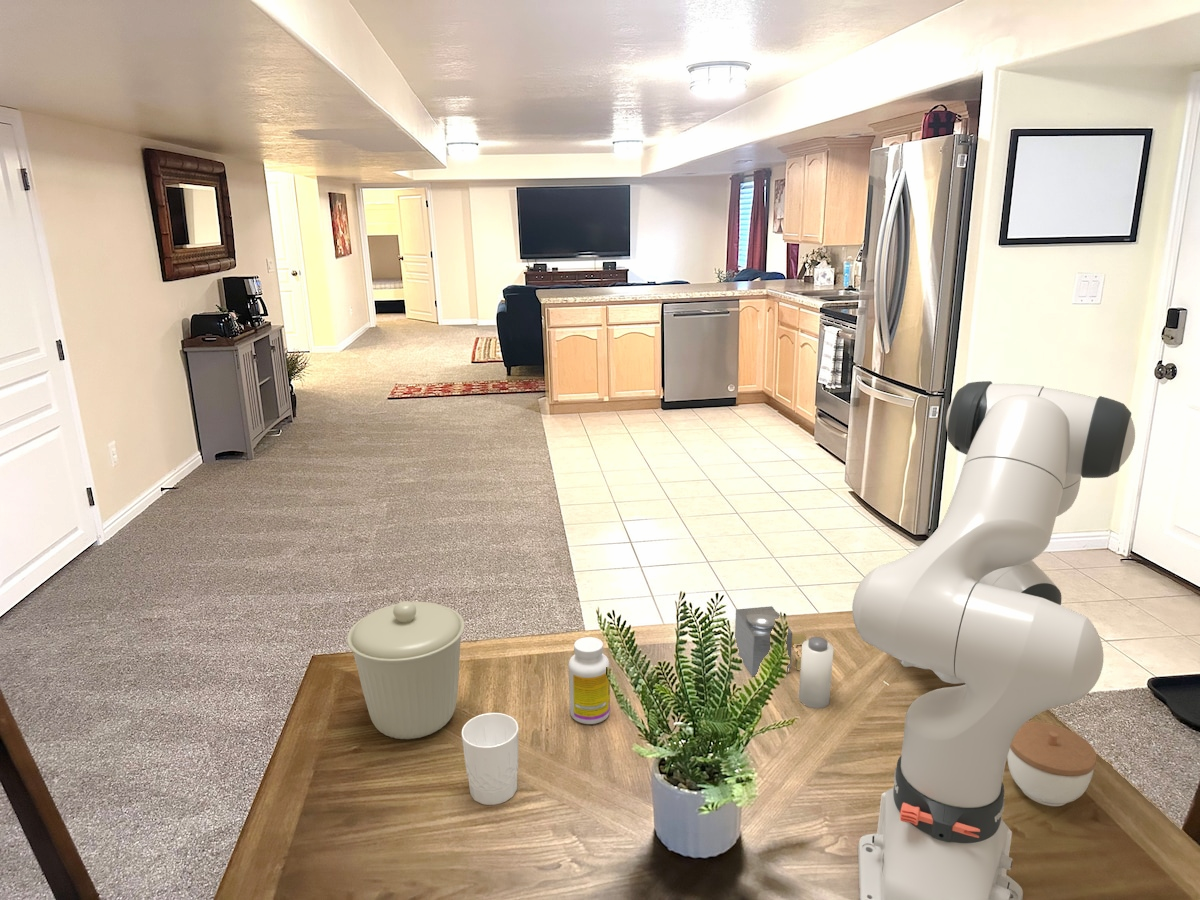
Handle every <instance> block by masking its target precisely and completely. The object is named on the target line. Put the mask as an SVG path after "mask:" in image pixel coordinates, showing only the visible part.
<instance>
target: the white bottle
mask: <svg viewBox="0 0 1200 900" xmlns="http://www.w3.org/2000/svg"><path fill="white" fill-rule="evenodd" d="M801 653H802V654H801V670H799V671H800V672H799V673H800V674H799V684H798V685H799V688H798V700H799V699H800V701H801V702H802V703H803V704H805V705H806V706H805V705H804V706H805V707H807V706H808V707H807V708H810V709H816V708H817V709H823V708H827V707H828V706H829V704H830V701H831V700H830V695H831V685H832V673H833V658H834V646H833V645H832V643H830V642H829V641H828V640H827V639H825V638H824V637H821V636H812V637H810V638H808V639H806V641H804V642H803V644H802V646H801ZM800 701H799V702H800ZM801 702H800V703H801ZM802 703H801V704H802ZM803 704H802V705H803ZM817 709H816V710H817Z"/></svg>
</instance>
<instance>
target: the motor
mask: <svg viewBox="0 0 1200 900" xmlns="http://www.w3.org/2000/svg"><path fill="white" fill-rule="evenodd" d="M779 616H781V615H780V613H779V612H778V611H776V609H774V606H773V605H771V606H761V607H749V608H739V609H738V608H737V609H735V626H734V639H735V638H736V643H737V647H738V649H739V654H738V657H739V658H740V657H741V658H742V659H743V661H742V663H743V664H744V666H745V668H746V669H747V672H748V673H749V674H750V676H751V675H752V676H751V677H752V678H753V676H755V675H756V674H757V672H758V669H759V666H760V663H761V662H762V660H763V658H764V657H765V656H766V655H767V654H768V652H769V650H770V633H771V631H772V629H773V627H774V625H775V619H778V618H779ZM806 640H807V635H806V633H804V632H803V633H793V632H792V630H791V629H790V627H788V635H787V641H786V644H787V650H788V655H789V657H790V660H791V659H792V647H793V645H794V644H800V643H803V642H804V641H806ZM793 648H794V647H793ZM796 653H797V654H798V651H797V652H796ZM796 653H795V654H796ZM797 654H796V655H797ZM741 658H740V659H741ZM742 659H741V660H742ZM794 659H795V660H794V668H795V667H796V669H800V668H801V657H795V658H794ZM791 661H792V660H791ZM791 661H790V664H789V665H788V666H787V673H786V674H789V673H788V668H789V672H790V673H791V663H792V662H791ZM796 669H795V670H796ZM755 677H756V676H755Z"/></svg>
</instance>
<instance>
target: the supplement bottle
mask: <svg viewBox="0 0 1200 900" xmlns="http://www.w3.org/2000/svg"><path fill="white" fill-rule="evenodd" d="M573 652H574V654H573V655H572V656H571V657H570V659H569V661H568V687H569V688H568V689H569V693H568V694H569V697H568V699H569V713H570V716H571V718H572V719H574V721H576V722H578V723H580V724H584V725H595V724H598V723H601V722H604V720H606V719H607V718H608V717H609V716H610V713H611V690H610V689H611V683H609V681H608V679H607V676H606V667H609V668H610V661H609V658H608V656H607V655H605V654H604V643H603V641H602V640H601V639H599V638H597V637H591V636H586V637H585V636H584V637H581V638H579V639H577V640H576V641H575V642H574V644H573Z"/></svg>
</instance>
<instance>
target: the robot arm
mask: <svg viewBox="0 0 1200 900" xmlns="http://www.w3.org/2000/svg"><path fill="white" fill-rule="evenodd" d="M945 427H946V432H947V433H946V434H947V439H948V442H949V443H950V445H951V446H952V447H953V448H954V449H955V451H957V452H959V453H961V454H964V455H966V457H965V459H964V462H963V466H962V469H961V472H960V475H959V477H958V478H959V479H958V482H957V485H956V487H955V491H954V493H953V494H952V495H953V496H952V497H951V500H950V503H949V506H948V508H947V510H946V513H945V515H944V517H943V519H942V520H941V522H940V524H939V525H938V527H937V528H936V530H934V532H933V533H932V534H931V535H930V536H929V537H928V538H927V539H926V540H925V541H924V542H923V543H921V544H920V545H919V546H918V547H917V548H915V549H914V550H913V551H910V552H909V553H908V554H906V555H904V556H902V557H900V558H898V559H896V560H894V561H891V562H888V563H885V564H882V565H879V566H876V567H875V568H873V569H872V570H871V571H869V572H868V573H867V574H866V576H864V577H863V579H862V580H861V581H860V583H859V584H858V586H857V587H856V590H855V593H854V595H853V600H852V607H851V608H852V611H851V612H852V619H853V622H854V623H853V624H854V626H855V629H856V631H857V633H858V635H859V637H860V638H861V640H862V641H863V642H865V643H867V644H869V645H870V646H872V647H874V648H876V649H877V650H879V651H881V652H883V653H885V654H887V655H889V656H891V657H893V658H895V659H897V660H898V662H899V663H900V664H901V665H902V666H903V668H909V667H915V668H919V669H923V670H931V671H933V673H934V674H935V675H936V676H937V677H938V678H939V679H940V680H941V681H942V682H944V683H946V684H947V683H948V684H954V685H957V684H963V685H957V686H948V687H942V688H936V689H933V690H930V691H928V692H925V693H924V694H921V695H920V696H918V697H917V698H916V699H914V701H913V702H912V703H911V704H910V705H909V707H908V709H907V711H906V714H905V719H904V729H903V730H904V731H903V739H902V746H901V747H902V748H901V749H902V750H901V754H900V756H899V757H898V758H897V759H898V760H897V762H896V766H895V770H894V774H893V787H891V788H890V789H888V790H885V791H884V792H882V793H881V796H880V803H879V805H880V806H879V811H878V812H879V814H878V822H877V830H876V833H869V834H864V835H862V836H861V837H860V838H859V842H858V846H857V849H858V850H857V852H858V853H857V855H858V856H857V857H858V882H859V884H858V885H859V886H858V887H859V888H860V894H859V900H1023V899H1024V898H1023V897H1024V895H1023V894H1024V891H1023V888H1022V886H1020V884H1019V883H1018V882H1017V881H1015V880H1014V879H1013V878H1012V877H1010V876H1009V875H1007V871H1011V869H1012V866H1013V857H1010V849H1011V843H1012V836H1013V831H1012V830H1011V829H1010V827H1009V826H1008V825H1007V824H1006V823H1005V821H1004V820H1003V818H1002V815H1003V813H1004V808H1005V801H1006V800H1005V786H1004V782H1003V779H1004V773H1005V768H1006V763H1007V761H1008V760H1007V756H1008V752H1009V749H1010V746H1011V743H1012V740H1013V738H1014V736H1015V734H1016V733H1017V731H1018V730H1019V729H1020V728H1021V727H1022V726H1023V725H1024V724H1025V723H1026V722H1029V720H1031V719H1032V718H1034V717H1036V716H1037V715H1040V714H1041V713H1042V714H1043V712H1046V711H1049V710H1052V709H1054V708H1055V709H1056V708H1058V707H1063V706H1067V705H1071V704H1073V703H1075V702H1077V701H1079V700H1081V699H1082V698H1084V697H1085V696H1086V695H1087V694H1089V693H1090V692H1091V691H1092V689H1093V688H1094V687H1095V686H1096V684H1097V682H1098V681H1099V679H1100V676H1101V674H1102V670H1103V668H1104V667H1103V666H1104V657H1105V656H1104V647H1103V644H1102V639H1101V637H1100V633H1098V631H1097V629H1096V627H1095V625H1094V624H1093V622H1092V621H1091V620H1090V619H1089V617H1087V616H1086V615H1084V614H1081V613H1079V612H1077V611H1075V610H1072V609H1070V608H1068V607H1066V606H1063V605H1062V599H1063V598H1062V592H1061V590H1060V589H1059V587H1057V585H1056V583H1054V582H1053V580H1052V579H1051V578H1050V577H1049V575H1047V574H1046V573H1045V572H1044V571H1043V570H1042V569H1041V568H1040V567H1039V566H1038V565H1037V564H1036V563H1035V561H1034V559H1036V558H1037V557H1039V556H1040V555H1041V554H1042V553H1043V552H1044V551H1045V550H1046V549H1047V548H1048V546H1049V544H1050V542H1051V538H1052V534H1053V531H1054V526H1055V523H1056V519H1057V517H1060V516H1061V515H1063V514H1064V513H1066V512H1067V511H1068V510H1069V509H1071V507H1073V504H1074V503H1075V501H1076V499H1077V497H1078V495H1079V491H1080V486H1081V481H1082V479H1083V478H1085V479H1102V478H1103V479H1104V478H1109V477H1110V476H1112V475H1114V474H1116V473H1118V472H1120V468H1121V467H1122V466H1123V465H1124V464H1125V462H1127V460H1128V459H1129V457H1130V455H1131V453H1132V452H1133V449H1134V446H1135V440H1136V430H1135V429H1136V428H1135V424H1134V420H1133V419H1132V412H1131V410H1130V409H1129V408H1128V407H1127V405H1126V404H1124V403H1123V402H1120V401H1117V400H1115V399H1112V398H1109V397H1105V396H1102V395H1099V396H1098V398H1097V397H1093V396H1090V395H1086V394H1081V393H1077V392H1073V391H1068V390H1062V389H1057V388H1050V387H1045V386H1044V385H1036V384H1035V385H1034V384H1023V383H1021V384H1020V383H993V382H992V381H989V380H987V381H984V380H983V381H974V382H973V381H972V382H968V383H966V384H965V385H963V386H962V387H961V388H959V389H957V391H956V393H955V395H954V397H953V398H952V400H951V402H950V404H949V406H948V408H947V411H946V417H945Z"/></svg>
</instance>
